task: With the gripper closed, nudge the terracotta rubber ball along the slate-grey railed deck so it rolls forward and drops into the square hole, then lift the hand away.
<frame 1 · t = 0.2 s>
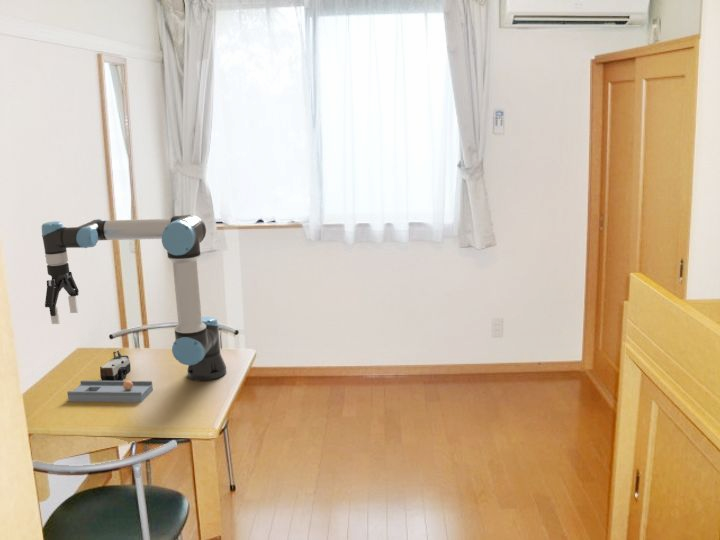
hand: (65, 318, 285), 28 cm above the table, fingers open, 13 cm apart
ball: (127, 385, 279), point 4 cm above the table, touching deck
camera: (118, 377, 299), on the table
deck: (111, 395, 281), on the table
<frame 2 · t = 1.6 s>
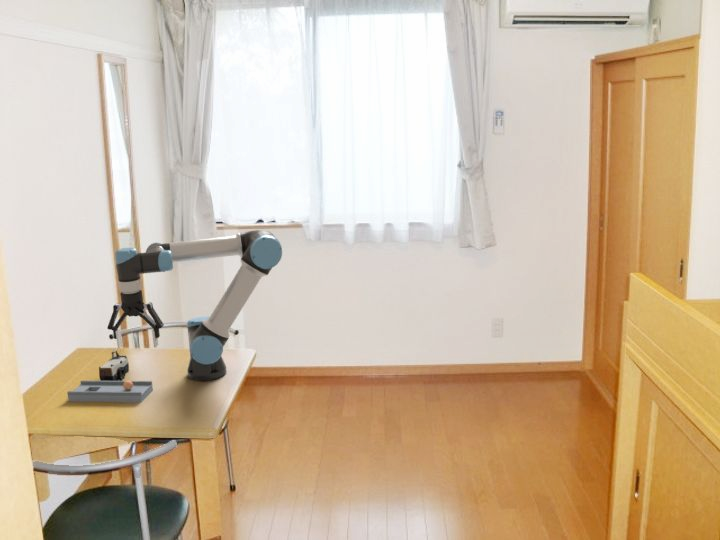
hand: (138, 346, 276), 19 cm above the table, fingers open, 13 cm apart
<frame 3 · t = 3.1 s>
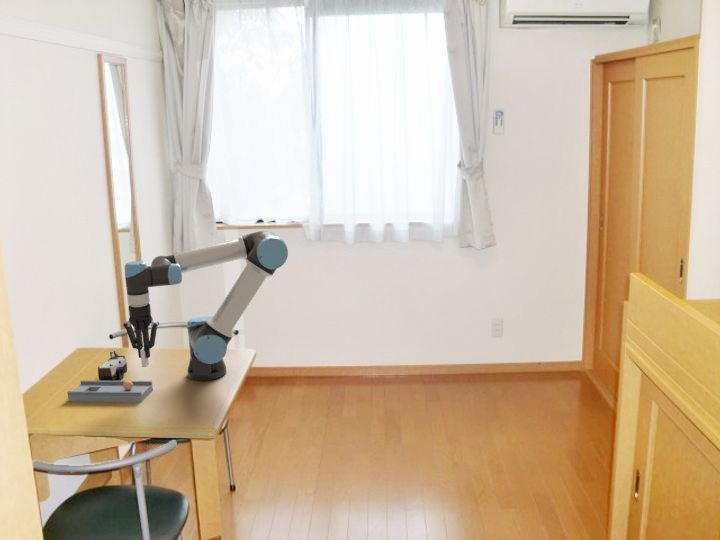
hand: (145, 365, 276), 12 cm above the table, fingers closed
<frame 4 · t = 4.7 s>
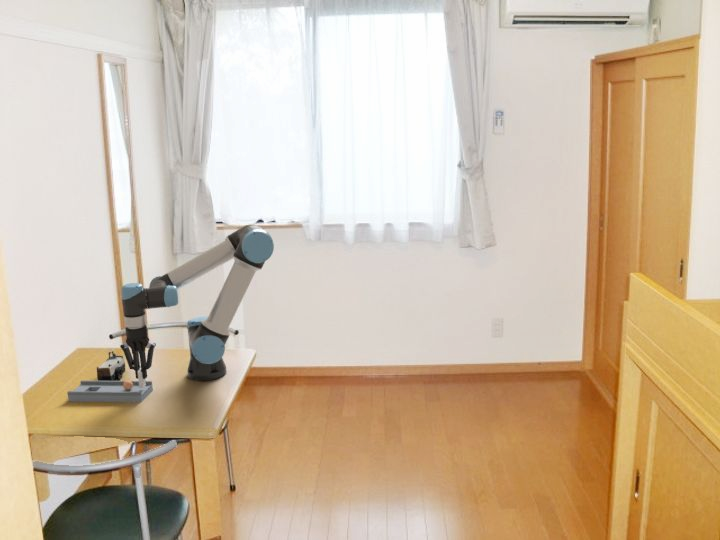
hand: (142, 386, 278), 4 cm above the table, fingers closed
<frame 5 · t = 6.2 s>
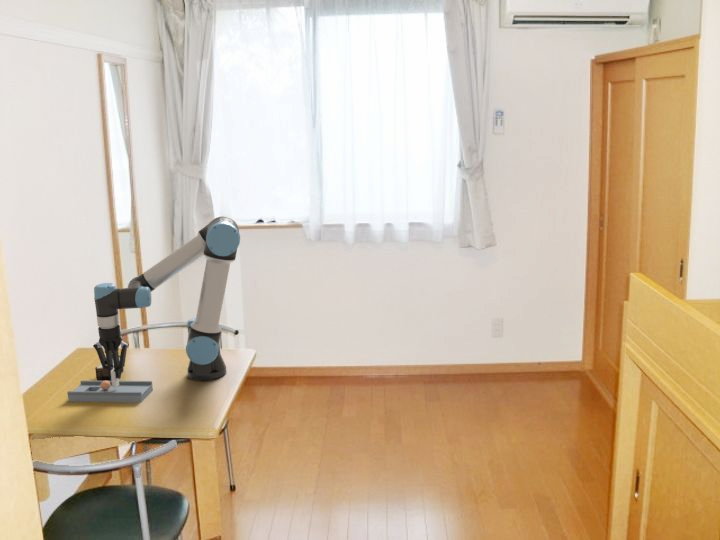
hand: (115, 386, 280), 4 cm above the table, fingers closed
ball: (105, 385, 280), point 4 cm above the table, tilted 79°, touching deck
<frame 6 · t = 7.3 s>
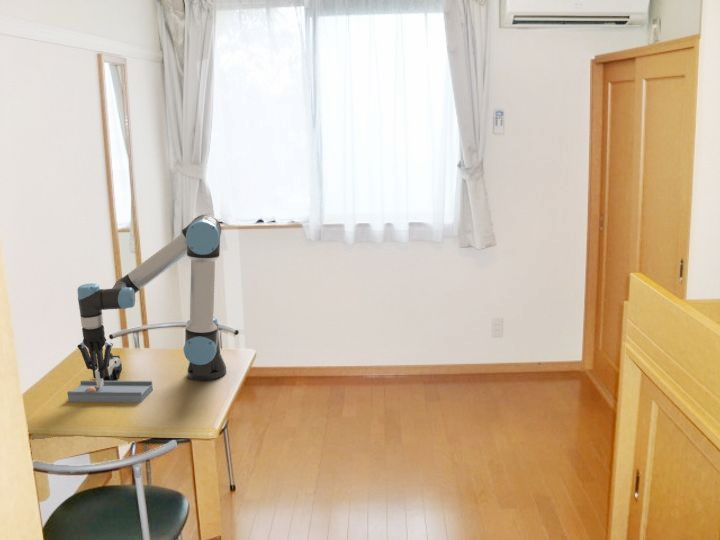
hand: (100, 386, 280), 4 cm above the table, fingers closed
ball: (91, 391, 281), point 2 cm above the table, tilted 177°
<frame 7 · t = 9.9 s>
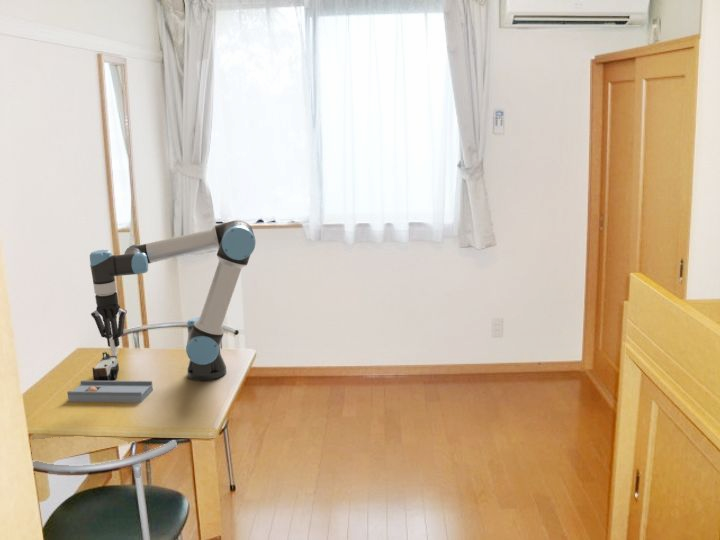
hand: (115, 354, 277), 16 cm above the table, fingers closed
ball: (92, 391, 281), point 2 cm above the table, tilted 166°
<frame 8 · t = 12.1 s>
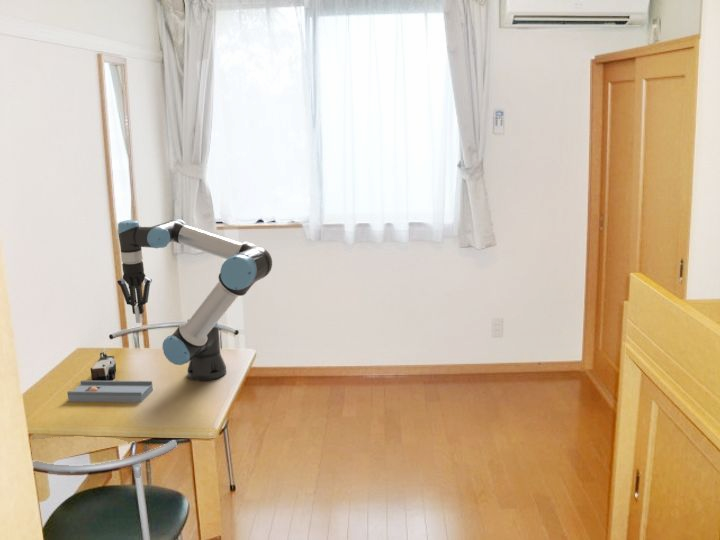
hand: (139, 321, 287), 24 cm above the table, fingers closed
ball: (93, 391, 281), point 2 cm above the table, tilted 152°
at the end: ball 0.5 cm from the target spot on the deck, point 1.7 cm above the deck's base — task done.
